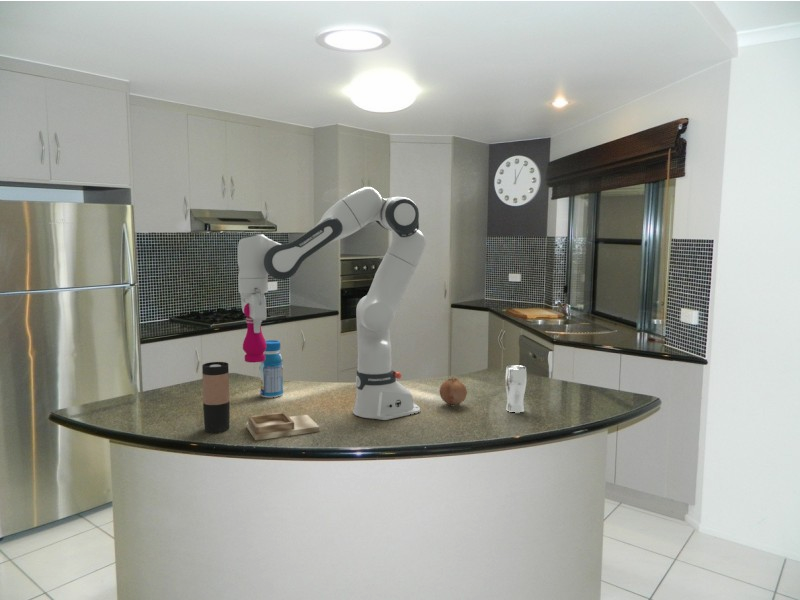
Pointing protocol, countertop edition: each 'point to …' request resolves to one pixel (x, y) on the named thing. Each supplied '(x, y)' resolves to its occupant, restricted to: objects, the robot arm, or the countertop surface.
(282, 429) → the mill holder
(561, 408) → the countertop surface
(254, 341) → the pepper mill
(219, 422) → the travel mug
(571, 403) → the countertop surface
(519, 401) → the beer glass
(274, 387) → the beverage bottle
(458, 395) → the onion
